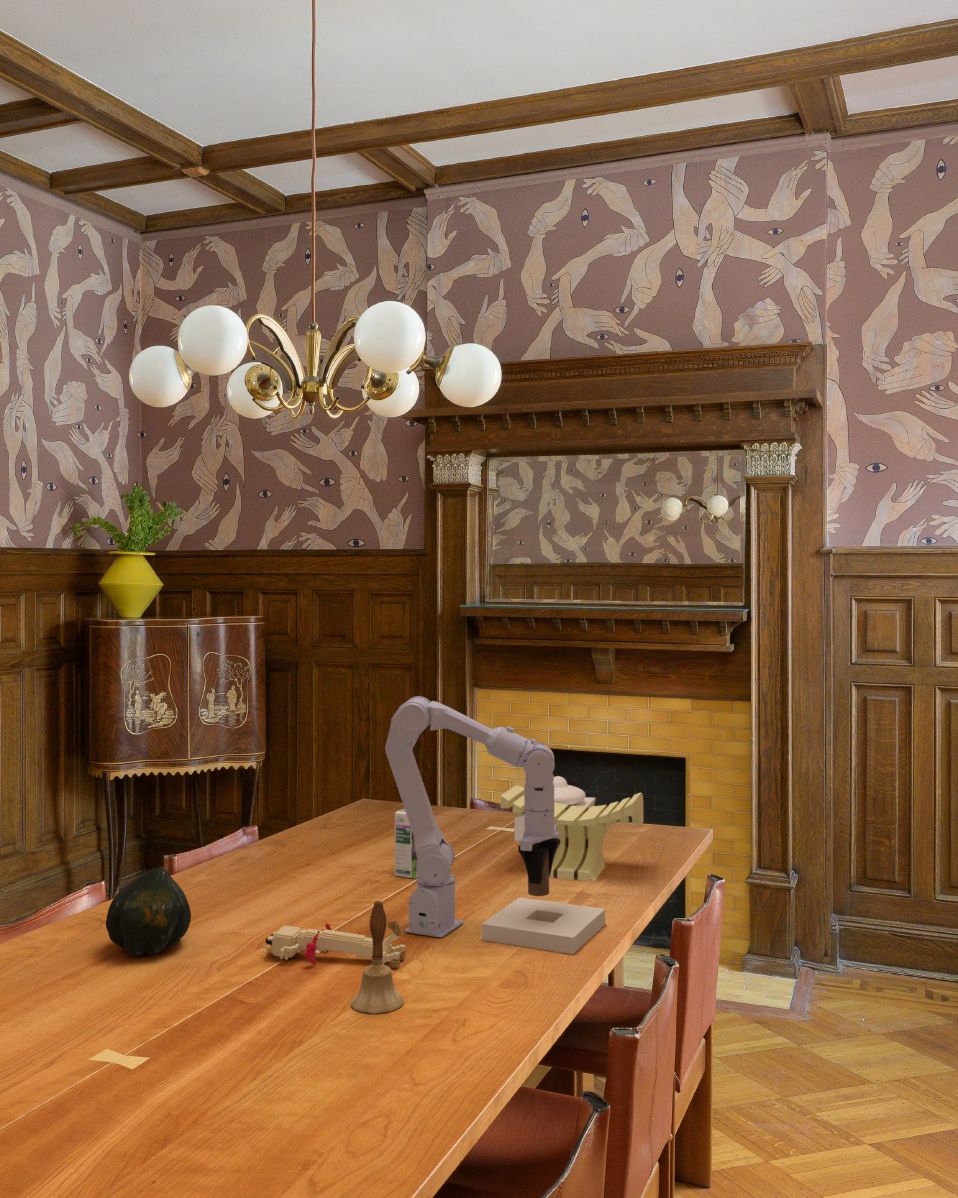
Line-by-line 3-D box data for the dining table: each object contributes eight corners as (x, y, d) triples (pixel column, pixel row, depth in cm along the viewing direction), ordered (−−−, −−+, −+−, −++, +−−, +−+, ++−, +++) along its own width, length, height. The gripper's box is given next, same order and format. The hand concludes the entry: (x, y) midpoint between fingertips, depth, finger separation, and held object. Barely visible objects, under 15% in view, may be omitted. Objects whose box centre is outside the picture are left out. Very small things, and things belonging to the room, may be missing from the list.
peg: (542, 897, 196) (542, 854, 196) (524, 894, 198) (523, 852, 198) (552, 892, 199) (552, 850, 199) (534, 889, 201) (534, 847, 201)
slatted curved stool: (643, 866, 243) (643, 789, 243) (632, 884, 228) (632, 803, 228) (519, 856, 252) (519, 783, 252) (500, 873, 237) (500, 795, 237)
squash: (86, 936, 179) (147, 866, 182) (94, 914, 193) (150, 849, 196) (151, 985, 182) (210, 916, 184) (154, 959, 196) (209, 895, 199)
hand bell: (377, 989, 169) (376, 891, 169) (414, 1002, 164) (414, 901, 164) (339, 1005, 163) (339, 903, 163) (377, 1019, 158) (376, 914, 158)
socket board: (573, 954, 185) (573, 937, 185) (481, 940, 193) (481, 924, 193) (605, 924, 201) (605, 909, 201) (519, 912, 209) (519, 897, 209)
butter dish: (514, 842, 267) (514, 780, 267) (531, 826, 284) (531, 768, 284) (582, 847, 262) (581, 784, 262) (595, 830, 279) (595, 771, 279)
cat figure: (407, 961, 186) (275, 941, 190) (411, 913, 185) (279, 894, 190) (392, 982, 176) (253, 960, 181) (396, 931, 176) (257, 911, 180)
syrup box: (393, 876, 235) (393, 812, 235) (407, 869, 240) (407, 807, 240) (415, 879, 233) (415, 814, 232) (428, 873, 238) (428, 809, 238)
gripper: (545, 818, 190) (545, 892, 190) (572, 803, 203) (572, 872, 203) (509, 815, 193) (510, 888, 193) (538, 800, 206) (538, 868, 206)
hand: (539, 880), depth 198 cm, fingers closed on peg, 4 cm apart
